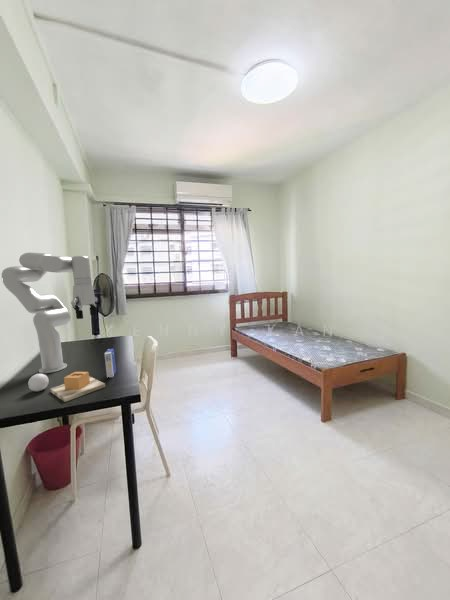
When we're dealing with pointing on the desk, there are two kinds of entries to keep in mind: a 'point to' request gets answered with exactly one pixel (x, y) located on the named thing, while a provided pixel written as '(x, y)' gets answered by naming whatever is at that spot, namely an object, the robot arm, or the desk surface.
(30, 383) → the white egg
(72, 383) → the orange block
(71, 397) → the board
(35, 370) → the desk surface
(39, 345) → the robot arm
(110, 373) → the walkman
